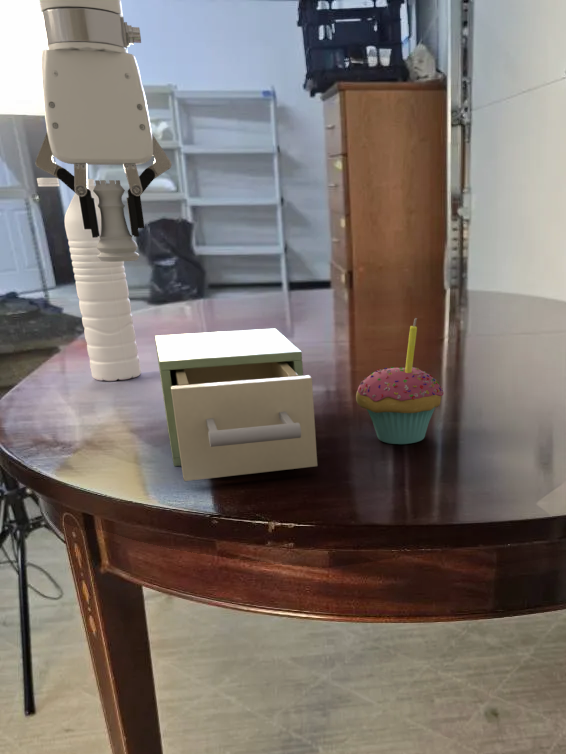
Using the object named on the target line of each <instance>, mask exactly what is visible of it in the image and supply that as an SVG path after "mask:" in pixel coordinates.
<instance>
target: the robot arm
mask: <svg viewBox="0 0 566 754" xmlns="http://www.w3.org/2000/svg"><path fill="white" fill-rule="evenodd" d="M39 5H40V10H41V17H42V23H43V29H44V30H43V31H44V34H45V42H46V47H47V49H44V50H42V51H41V53H40V80H41V92H42V93H41V94H42V102H43V103H42V104H43V110H44V111H43V112H44V118H45V119H44V120H45V126H46V133H45V135H44V138H43V141H42V143H41V146H40V148H39V150H38V153H37V156H36V159H35V161H34V163H35V166H36V167H37V168H38V169H39V170H42V171H43V172H45V173H47V174H49V175H51V176H52V177H53V178H58V180H60V181H61V183H63V184H64V185H66V186H67V187H68V189H70V190H71V191H72V192H74V194H75V193H76V194H77V195H78V196H79V200H80V206H81V212H82V218H83V224H84V229H91V231H92V237H93V238H97V237H98V236H100V234H99V227H98V221H97V215H96V208H95V202H94V198H92V196H91V191H90V190H89V189H88V179H89V178H88V165H89V166H90V165H91V166H92V165H94V166H95V165H96V166H97V165H98V166H100V165H101V166H103V165H105V166H123V169H124V173H125V177H126V180H127V184H128V190H127V197H126V204H127V205H126V206H127V210H128V211H127V212H128V218H129V226H130V230H131V231H130V234H131V235H132V236H133V237H135V238H136V237H137V238H138V237H140V233H139V229H145V222H144V214H143V205H142V199H141V196H142V195H143V193H144V192H145V191H146V189H147V188H148V187H149V186H150V185H151V184H152V182H153V181H154V180H155V179H156V178H158V177H159V176H161V175H162V174H164V173H165V172H167V171H168V170H170V169H171V168H172V166H173V165H172V161H171V159H170V158H169V157H168V155H167V153H166V152H165V150H164V149H163V147H162V146H161V145H160V143H159V142H158V140H157V139H156V137H155V136H154V134H153V131H152V126H151V120H150V115H149V107H148V104H147V97H146V93H145V89H144V85H143V80H142V75H141V72H140V68H139V65H138V61H137V59H136V56H135V55H134V54H133V53H129V51H128V48H129V47H130V46H131V45H134V43H135V44H141V43H142V37H141V29H140V27H139V26H132V24H131V25H129V24H128V22H127V21H125V19H124V14H123V13H124V12H123V6H122V0H39ZM54 158H56V159H57V160H58V161H60V162H62V163H65V164H69V165H73V173H71V172H70V171H69V170H67V168H64V167H63V166H60V165H59V164H57V163H56V162H55V161H54ZM152 158H153V159H154V161H153V163H152V164H151V165H149V166H148V167H146V168H145V169H144V170H142V172H141V173H140V175H139V171H138V168H137V165H143V164H145V163H148V162H149V161H150V160H151V159H152Z"/></svg>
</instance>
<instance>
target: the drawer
mask: <svg viewBox="0 0 566 754" xmlns="http://www.w3.org/2000/svg"><path fill="white" fill-rule="evenodd" d="M174 373H175V381H176V386H171V393H172V400H173V407H174V414H175V422H176V429H177V436H178V443H179V451H180V458H181V465H182V466H181V472H182V477H183V482H189V481H198V480H207V479H218V478H226V477H235V476H244V475H252V474H260V473H261V474H262V473H269V472H279V471H286V470H294V469H295V470H296V469H305V468H313V467H314V468H315V467H318V456H317V455H318V454H317V453H318V452H317V439H316V423H315V422H316V421H315V405H314V391H313V389H314V387H313V377H311V375H310V374H307V375H304V374H303V376H298V375H297V374H296V372H295V371H294V370H293V369H292V368H291V367H290V366H289V365H288V364H287V363H286V362H271V363H258V364H244V365H231V366H217V367H204V368H190V369H177V370H174Z"/></svg>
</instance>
